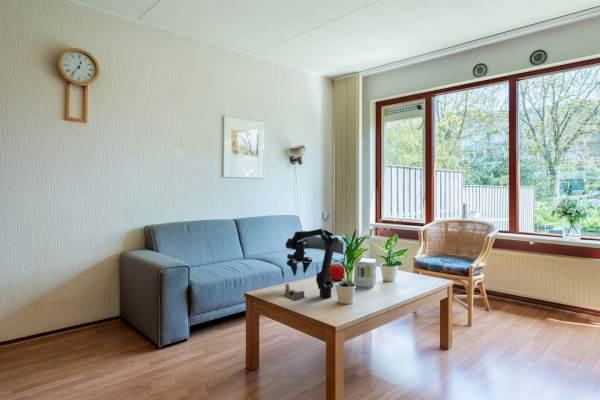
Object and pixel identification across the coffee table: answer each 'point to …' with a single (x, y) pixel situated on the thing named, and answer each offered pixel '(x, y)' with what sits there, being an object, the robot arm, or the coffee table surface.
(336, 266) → the tomato
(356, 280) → the supplement box
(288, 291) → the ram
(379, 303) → the coffee table surface
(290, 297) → the beige mounting plate
